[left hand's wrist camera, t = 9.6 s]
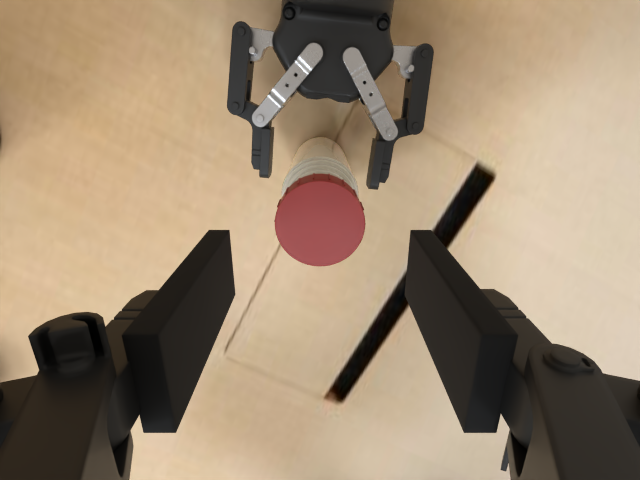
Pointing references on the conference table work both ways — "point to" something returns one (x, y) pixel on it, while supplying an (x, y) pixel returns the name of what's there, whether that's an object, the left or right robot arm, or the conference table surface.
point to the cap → (320, 220)
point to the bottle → (319, 162)
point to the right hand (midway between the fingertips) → (319, 181)
